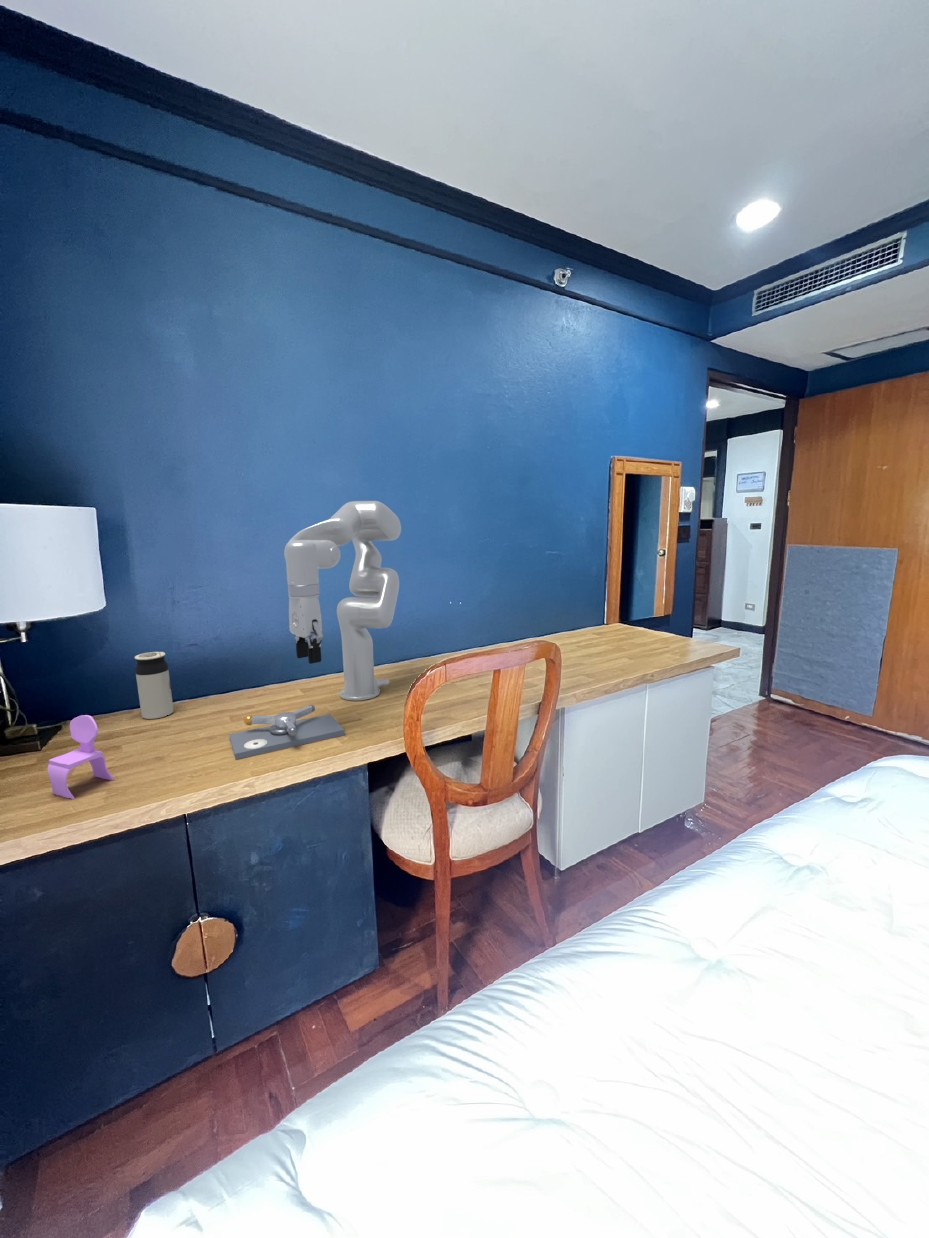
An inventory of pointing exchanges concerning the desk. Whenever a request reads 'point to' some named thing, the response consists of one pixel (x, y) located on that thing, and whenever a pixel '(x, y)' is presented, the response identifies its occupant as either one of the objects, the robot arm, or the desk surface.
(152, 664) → the travel mug
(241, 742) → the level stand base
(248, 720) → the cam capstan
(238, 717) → the desk surface
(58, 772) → the toy chair
